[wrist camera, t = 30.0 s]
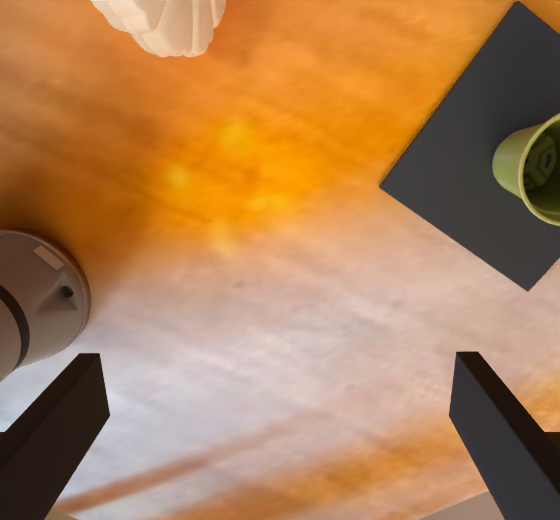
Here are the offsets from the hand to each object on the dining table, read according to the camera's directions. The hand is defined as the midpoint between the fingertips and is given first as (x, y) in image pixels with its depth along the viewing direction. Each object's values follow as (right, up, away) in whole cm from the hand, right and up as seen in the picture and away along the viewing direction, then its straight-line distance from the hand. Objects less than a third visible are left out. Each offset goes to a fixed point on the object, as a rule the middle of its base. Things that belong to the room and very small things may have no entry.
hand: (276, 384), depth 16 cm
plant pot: (+24, +14, +26) cm, 38 cm away
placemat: (+24, +15, +26) cm, 39 cm away
